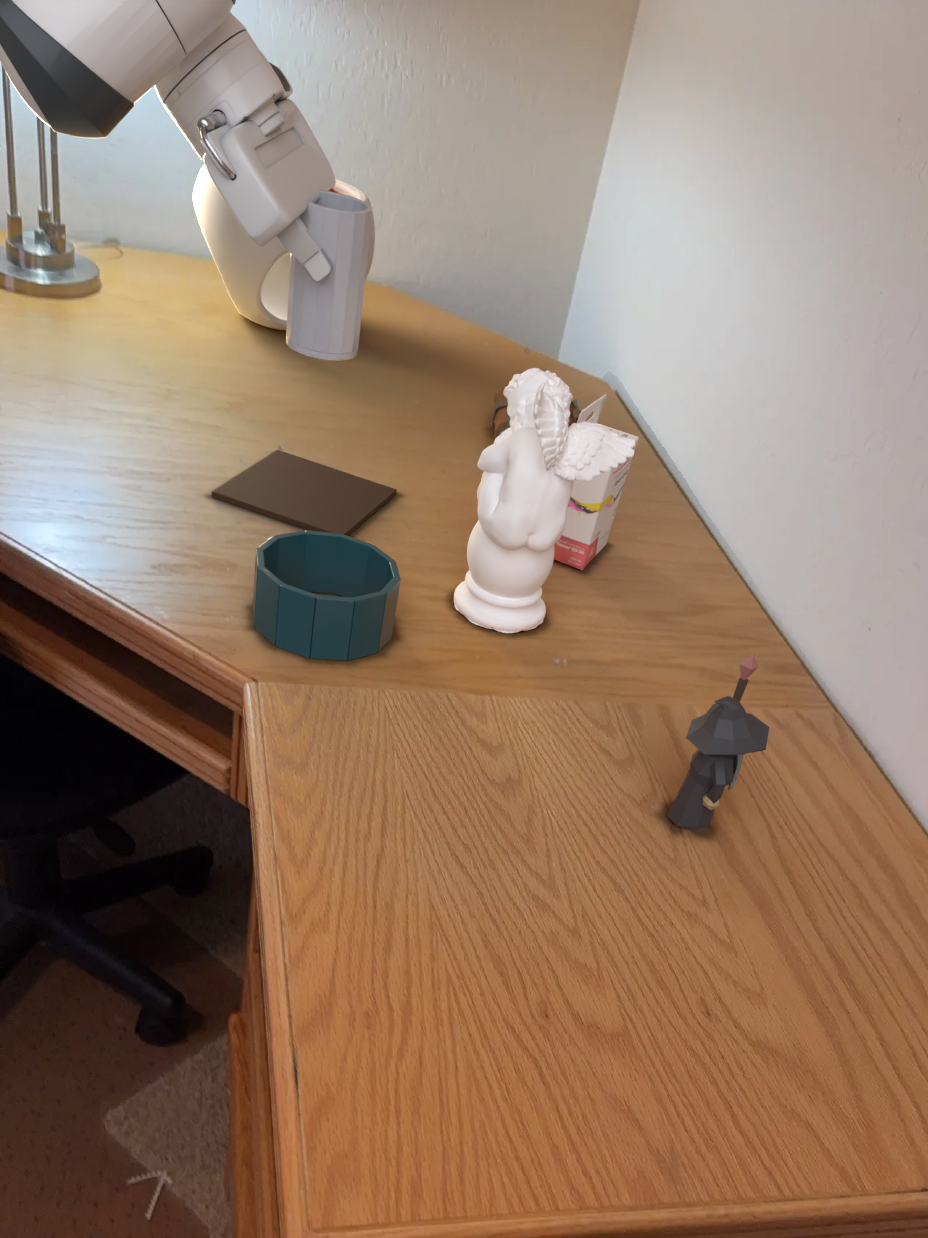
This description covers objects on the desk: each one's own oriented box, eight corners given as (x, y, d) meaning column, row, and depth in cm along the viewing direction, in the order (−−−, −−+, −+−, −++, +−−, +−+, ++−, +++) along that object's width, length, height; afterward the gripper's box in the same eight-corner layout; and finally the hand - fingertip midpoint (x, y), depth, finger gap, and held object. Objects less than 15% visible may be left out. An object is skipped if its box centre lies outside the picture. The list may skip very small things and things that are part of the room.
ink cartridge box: (584, 572, 107) (625, 427, 98) (539, 556, 108) (575, 410, 98) (609, 544, 114) (649, 405, 104) (566, 528, 114) (603, 389, 105)
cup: (273, 345, 96) (281, 194, 88) (305, 329, 101) (315, 185, 93) (339, 366, 96) (353, 216, 88) (368, 349, 100) (384, 206, 92)
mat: (211, 497, 104) (211, 491, 103) (276, 454, 114) (277, 449, 114) (341, 541, 102) (342, 535, 102) (396, 494, 112) (397, 489, 112)
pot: (394, 331, 154) (412, 191, 143) (306, 364, 137) (318, 207, 125) (255, 282, 159) (261, 143, 147) (152, 307, 142) (151, 151, 130)
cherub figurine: (467, 572, 102) (516, 331, 88) (590, 608, 102) (659, 371, 87) (435, 628, 93) (483, 370, 79) (570, 668, 93) (643, 415, 78)
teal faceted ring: (227, 629, 86) (230, 568, 83) (291, 575, 95) (296, 517, 92) (357, 676, 85) (365, 615, 82) (410, 616, 94) (419, 560, 90)
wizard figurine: (733, 851, 78) (796, 716, 70) (661, 842, 77) (716, 705, 69) (709, 781, 84) (764, 651, 76) (642, 773, 83) (691, 640, 75)
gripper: (222, 92, 78) (339, 269, 85) (286, 68, 93) (382, 220, 100) (162, 149, 80) (281, 316, 87) (234, 116, 96) (331, 260, 103)
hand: (335, 264), depth 94 cm, fingers closed on cup, 7 cm apart
